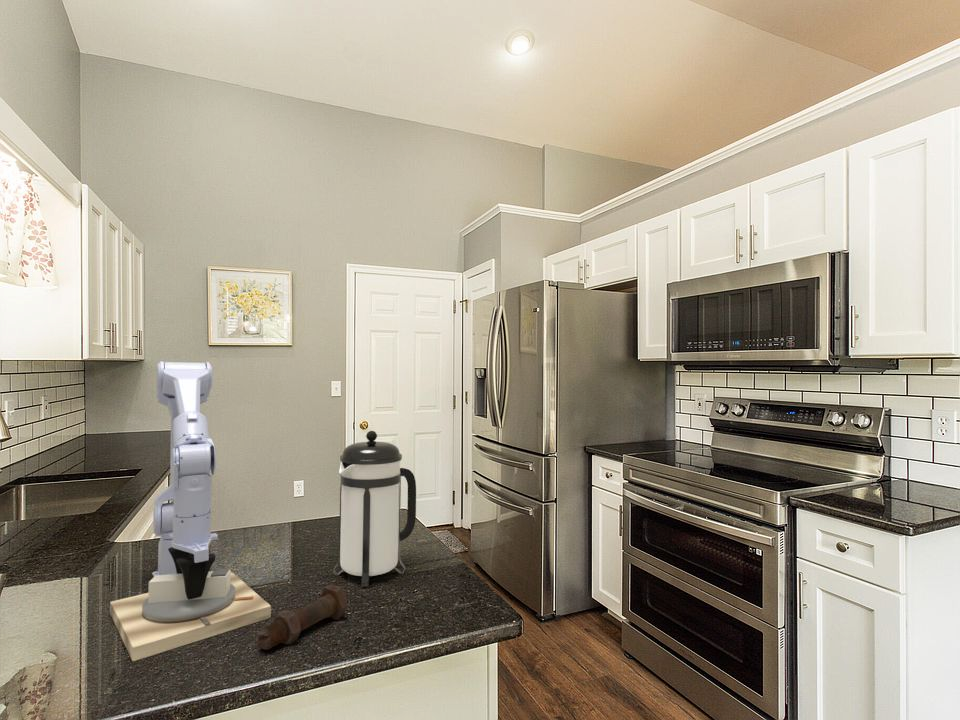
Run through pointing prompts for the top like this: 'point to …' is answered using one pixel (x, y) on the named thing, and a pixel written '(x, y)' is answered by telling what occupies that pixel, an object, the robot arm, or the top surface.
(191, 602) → the dial
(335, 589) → the bolt
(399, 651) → the top surface
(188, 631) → the dial board
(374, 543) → the coffee press
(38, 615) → the top surface
